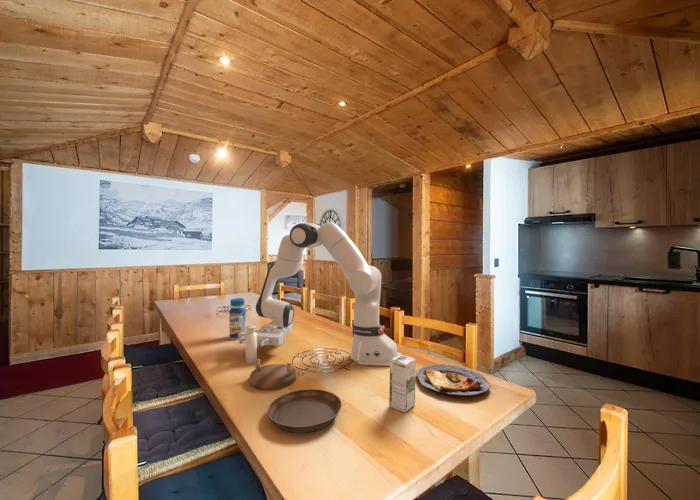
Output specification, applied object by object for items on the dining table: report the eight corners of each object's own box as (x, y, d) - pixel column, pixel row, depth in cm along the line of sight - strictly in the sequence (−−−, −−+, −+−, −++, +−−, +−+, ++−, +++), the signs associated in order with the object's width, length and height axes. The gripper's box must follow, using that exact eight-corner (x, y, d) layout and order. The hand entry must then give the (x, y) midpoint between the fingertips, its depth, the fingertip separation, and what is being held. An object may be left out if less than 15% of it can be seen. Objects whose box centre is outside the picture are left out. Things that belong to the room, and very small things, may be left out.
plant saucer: (254, 416, 89) (254, 404, 89) (312, 392, 104) (312, 382, 104) (296, 450, 74) (296, 436, 74) (356, 416, 89) (356, 405, 89)
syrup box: (398, 399, 98) (398, 353, 98) (415, 405, 94) (415, 358, 94) (388, 407, 94) (388, 359, 93) (406, 413, 90) (406, 363, 89)
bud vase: (259, 360, 131) (259, 325, 131) (252, 364, 127) (252, 328, 126) (250, 359, 132) (249, 324, 132) (243, 363, 128) (242, 327, 128)
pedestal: (303, 373, 118) (303, 356, 117) (281, 393, 102) (281, 373, 102) (266, 368, 123) (266, 351, 122) (240, 386, 107) (240, 367, 107)
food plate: (501, 401, 97) (501, 390, 97) (426, 401, 97) (426, 390, 97) (471, 370, 122) (471, 361, 122) (412, 370, 122) (411, 361, 122)
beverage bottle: (249, 336, 164) (249, 298, 163) (236, 341, 157) (235, 301, 156) (239, 334, 168) (238, 297, 168) (225, 338, 161) (225, 299, 161)
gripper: (249, 324, 145) (229, 333, 132) (288, 328, 139) (271, 337, 125) (249, 338, 145) (229, 347, 132) (288, 342, 139) (271, 353, 126)
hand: (250, 342), depth 129 cm, fingers open, 8 cm apart
